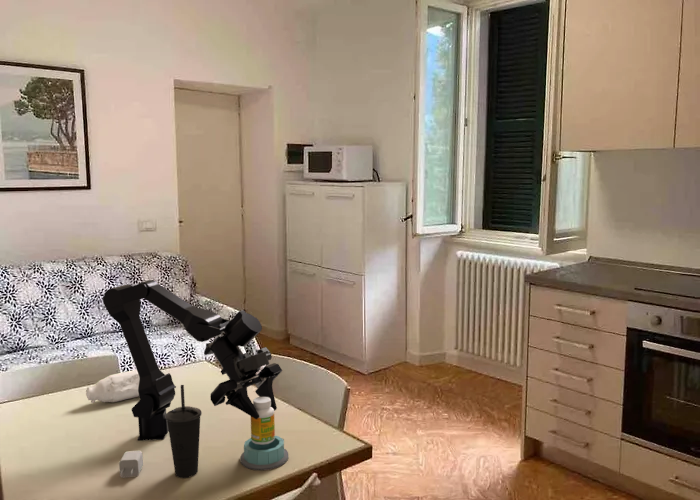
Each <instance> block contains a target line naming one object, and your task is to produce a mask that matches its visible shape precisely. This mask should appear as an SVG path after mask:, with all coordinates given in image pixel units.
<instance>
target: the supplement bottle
mask: <svg viewBox="0 0 700 500" xmlns="http://www.w3.org/2000/svg"><path fill="white" fill-rule="evenodd" d="M252 403H253V405H254V407H255V408H256V410H257V412H258V414H259V418H258V419H255V418H253V417H251V416H250V438H251V440H252V442H253V443H255V444H260V445H264V444H269V443H271V442H273V441H274V439H275V436H276V433H275V431H276V430H275V429H276V428H275V411H274V409H273V408H272V407H271V399H270V398H269V397H259V396H258V397H255V398H254V399H253V401H252Z"/></svg>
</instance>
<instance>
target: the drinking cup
mask: <svg viewBox="0 0 700 500" xmlns="http://www.w3.org/2000/svg"><path fill="white" fill-rule="evenodd" d="M184 386H185V385H184V384H180V403H181V406H178V407H175V408H173V409H171V410H169V411H168V412H166V415H165V418H166V420H167V423H168V430H169V431H168V435H169V443H170V448H171V454H172V455H171V456H172V461H173V467H174V469H173V470H174V474H175V477H177V478H180V479H186V478H191V477H194V476H195V475H197V474H198V472H199V455H200V452H199V450H200V435H201V434H200V431H201V429H200V428H201V416H202V413H203V412H202V410H201V409H200V408H199V407H193V406H187V405H186V404H185V402H186V401H185V387H184Z"/></svg>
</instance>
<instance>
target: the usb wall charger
mask: <svg viewBox="0 0 700 500" xmlns="http://www.w3.org/2000/svg"><path fill="white" fill-rule="evenodd" d="M118 466H119V476H120V477H121V478H135V477H138V476H139V475H140V472H141V470H142V468H143V466H144V457H143V452H142V451H141V450H130V451H125V452H124V453H123V455H122V457H121V458H120V459H119V463H118Z"/></svg>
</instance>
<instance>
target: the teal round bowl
mask: <svg viewBox="0 0 700 500" xmlns="http://www.w3.org/2000/svg"><path fill="white" fill-rule="evenodd" d="M239 458H240V459H239V461H240V465H241V466H243V467H244V468H246V469H249V470H253V471H267V470H273V469H277V468H280V467H281V466H283V465H285V464H286V463H287V462H288V461H289V451H288V450H287V449H286V448H285V440H284V439H283V438H282V437H281V436H278V435H275V439H274V441H273V442H271V443H269V444H264V445H260V444H255V443H253V442H252V440H251V437H249V438H248V439H247V440H245V441H244V444H243V452H242V453H241V455H240V457H239Z"/></svg>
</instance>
